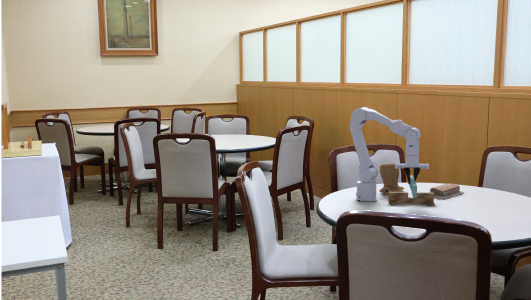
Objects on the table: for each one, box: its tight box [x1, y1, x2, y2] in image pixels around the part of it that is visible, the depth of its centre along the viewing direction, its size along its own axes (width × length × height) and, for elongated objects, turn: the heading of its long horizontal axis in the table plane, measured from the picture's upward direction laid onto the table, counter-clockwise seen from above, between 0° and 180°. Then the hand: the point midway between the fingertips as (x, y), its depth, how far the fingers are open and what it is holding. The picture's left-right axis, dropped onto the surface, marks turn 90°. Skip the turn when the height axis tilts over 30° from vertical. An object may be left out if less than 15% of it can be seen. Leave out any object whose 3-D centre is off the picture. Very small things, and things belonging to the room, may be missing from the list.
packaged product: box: [427, 182, 465, 200], centre depth 231 cm, size 18×5×10 cm
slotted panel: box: [408, 174, 418, 198], centre depth 208 cm, size 16×2×5 cm, turn 169°
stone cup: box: [379, 162, 405, 196], centre depth 237 cm, size 15×12×15 cm
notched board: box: [387, 191, 436, 207], centre depth 217 cm, size 20×8×5 cm, turn 79°
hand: (411, 184), depth 214 cm, fingers closed on slotted panel, 1 cm apart
